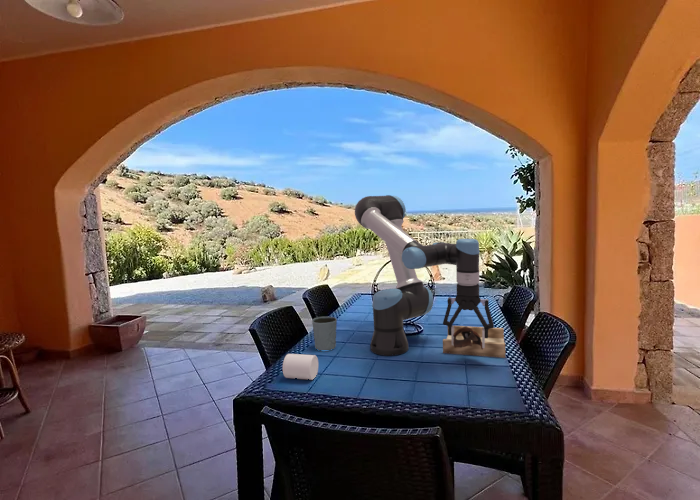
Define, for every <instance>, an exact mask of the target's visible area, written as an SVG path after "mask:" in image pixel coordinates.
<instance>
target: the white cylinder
mask: <svg viewBox="0 0 700 500" xmlns="http://www.w3.org/2000/svg"><path fill="white" fill-rule="evenodd" d="M282 373H283V374H282V375H283V377H284V378H285V379H295V378H297V380H308V379H309V380H310V381H313V379H314V378H315V377H317V376H318V373H319V358H318V357H317V355H316V354H302V353H301V354H299V353H287V354H286V355H285V356H284V359H283V361H282ZM316 375H317V376H316ZM315 379H316V378H315ZM315 379H314V380H315Z"/></svg>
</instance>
